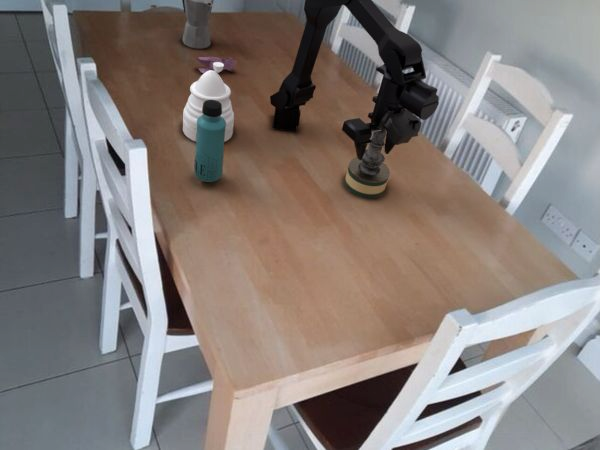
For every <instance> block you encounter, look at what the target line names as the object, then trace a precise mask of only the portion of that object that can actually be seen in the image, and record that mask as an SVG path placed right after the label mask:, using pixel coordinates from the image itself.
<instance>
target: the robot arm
mask: <svg viewBox="0 0 600 450" xmlns="http://www.w3.org/2000/svg"><path fill="white" fill-rule="evenodd" d="M342 6H344V7H345V8H346V9H347V10H348V12H350V13H351V15H352V16H353V17H354V18H355V20H356V21H357V22H358V23H359V24H360V26H362V28H363V29H364V31H365V32H366V33H367V34H368V36H370V38H371V39H372V40H373V41H374V42H375V45H376V46H377V51H378V56H379V58H380V59H381V62H382V63H383V64H381V65H379V66H377V67H376V68H375V70H376V72H378V73H379V74H381V75H382V78H381V82H380V86H379V89H378V93H377V95H375V96H372V100H371V101H372V102H373V103H374V106H373V110H372V112H368V113H367V118H368V119H370V122H367V123H366V122H365V121H364V120H362V119H361V118H360V117H356V118H351V119H346V120H343V124H342V127H341V131H342V132H343V133H344V134H345V135H346V136H347V137H348V138H349V139H351V140H352V141H353V143H354V148H355V152H356V157H357V158H358V159H359V160H362V158H363V156H364V153H365V150H366V149H367V146H368V144H369V145H370V143H371V142H372V141H371V140H370V139H372V136H373V133H374V132H376V131H383V130H385V131H386V136H385V139H384V144H385V145H384V149H383V150H384V154H385V155H389V154H390V152H391V151H392V150H393V148H394V147H395V146H399V145H402V144H407V143H409V142H410V141H411V140H412V138H415V137H419V133H420V131H421V128H422V121H426V120H428V119H429V118H430V117H432V116H433V114H434V113H435V112H436V111H437V109H438V106H439V104H440V102H439V100H440V99H439V98H440V97H439V96H438V94H437V93H438V88H436V87H435V86H432V85H429V84H428V83H426V82H424V81H423V80H426V79H427V74H426V69H425V65H424V60H423V56H422V54H423V53H422V52H423V49H422V46H421V44H420V43H419V42H418V41H417V40H416V39H414V38H413V37H412V36H411V35H409V34H408V33H406V32H404V31H402V30H399V29H398V28H396V27H395V26H394V24H393V23H392V22H391V21H390V20H389V18H388V17H386V15H385V14H384V13H383V12H382V11H381V9H380V8H379V7H378V6H377V5H376V3H374V1H373V0H304V5H303V11H304V14H305V18H306V22H305V25H304V29H303V32H302V35H301V39H300V43H299V46H298V49H297V52H296V56H295V59H294V62H293V65H292V70H291V71H290V72H289V73H288V75H287V76H285V78H284V79H283V80H282V82H281V84H280V86H279V89H278V91H277V92H275V93H273V94H271V95H270V96H269V102H270V105H271V106H273V107H274V114H273V115H272V129H273V130H279V131H287V132H293V133H294V132H295V133H296V132H297V129H298V127H299V126H300V125H299V124H300V119H301V115H302V114H301V112H302V111H301V108H300V107H302V106H305V105H306V104H307V102H310V100H311V99H314V93H315V90H316V88H317V87H316V84H314V83H313V80H312V73H313V70H314V67H315V64H316V61H317V59H318V55H319V52H320V50H321V46H322V43H323V40H324V36H325V34H326V31H327V28H328V26H329V25H330V24H331V23H332V21H334V19H336V17H337V16H338V14H339V13H340V10H341V8H342ZM410 69H412V70H413V71H409V72H406V73H405V72H404V71H406V70H410ZM421 120H422V121H421Z"/></svg>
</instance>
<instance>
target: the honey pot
mask: <svg viewBox="0 0 600 450" xmlns="http://www.w3.org/2000/svg"><path fill="white" fill-rule="evenodd" d="M223 67H225V66H224V64H223V63H221V62H214V63H213V68H214V70H215V71H213V70H209V71H207V72H205V73H202V74H201V75H200V77H199V78H198V79H197V80H196V81H194V82H192V83H191V85H190V87H189V91H190V95H189V96H188V97H187V101H186V104H185V106H184V108H183V111H182V112H183V115H182V132H183V134H184V135H185V136H186V138H188V139H189V140H191V141H193V142H196V135H197V119H198V118H199V117H200V116H201V115H203V113H202V108H203V103H204V102H205V101H207V100H216V101H219V102H220V103H221V105H222V114H221V115H220V116H221V117H222V118H224V120H225V121H226V126H225V138H224V143H225V142H227V141H229V140H230V139H231V138H232V136H233V134H234V124H235V123H234V122H235V112H234V111H233V110H234V109H233V106H232V101H231V99H230V96H231V94H232V90H231V88H230V87H229V86H228V84H226V83H224V80H223V79H222V77H221V75H220V74H219V73H220V72H222V71H223V70H222V69H223Z"/></svg>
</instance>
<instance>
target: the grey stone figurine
mask: <svg viewBox="0 0 600 450" xmlns="http://www.w3.org/2000/svg"><path fill="white" fill-rule="evenodd" d="M386 133H387V132H386V130H383V131H376V132H372V136H371V138H370V140H371V141H372V142H371V143H369V145H368V148H366V150H365V153H364V156H363V158H362V162H361V163H360V164H359V169H360V170H361V171H362V172H364V173H366V174H369V175H376V174H378V173H379V172H380V168H379V166H380V165H381V164H382V163H384V162H385V160H386V157H385V155H384V154H383V153H382V149H383V147H385V140H386Z"/></svg>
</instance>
